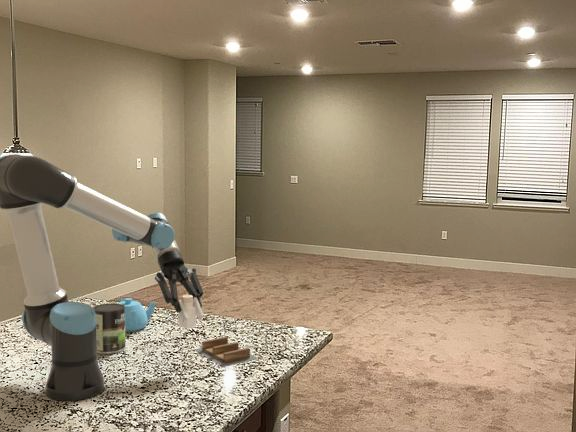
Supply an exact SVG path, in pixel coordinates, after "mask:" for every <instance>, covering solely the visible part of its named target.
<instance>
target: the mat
mask: <svg viewBox="0 0 576 432" xmlns="http://www.w3.org/2000/svg"><path fill="white" fill-rule="evenodd" d="M228 344H229V342H228ZM239 349H241V348H240V347H239ZM194 351H195V352H196V353H198V354H200V355H202V356H203V357H206V358H207V359H209V360H210V361H212V362H214V363H216V364H217V365H219V366H221V367H223V368H225V367H230V366H233V365H234V366H235V365H238V364H241V363H242V364H243V363H248V362H251V361H255V360H259V357H257V356H255V355H253V354H251V353H250V358H247V359H242V360H238V361H234V362H230V363H226V364H225V363H224V362H222V361H220V360H218V359H217V358H215V357H213V356H211V355H209V354H208V353H206V352H204V351H202V347H200V348H196V349H195V348H194Z"/></svg>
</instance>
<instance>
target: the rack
mask: <svg viewBox="0 0 576 432" xmlns="http://www.w3.org/2000/svg"><path fill="white" fill-rule="evenodd" d="M228 343H229V338H228V336H223V337H217V338H212V339H209V340H203V341H202V342H201V348H202V351H204V352H206V353H208V354H209V355H211V356H213V357H215V358H217V359H218V360H220V361H222V362H224V363H225V364H226V363H230V362H234V361H238V360H242V359H247V358H250V354H251V348H250V347H244V348H240V347H239V344H240V343H239V342H238V341H235V342H230V343H229V344H228ZM239 348H240V349H239Z"/></svg>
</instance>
